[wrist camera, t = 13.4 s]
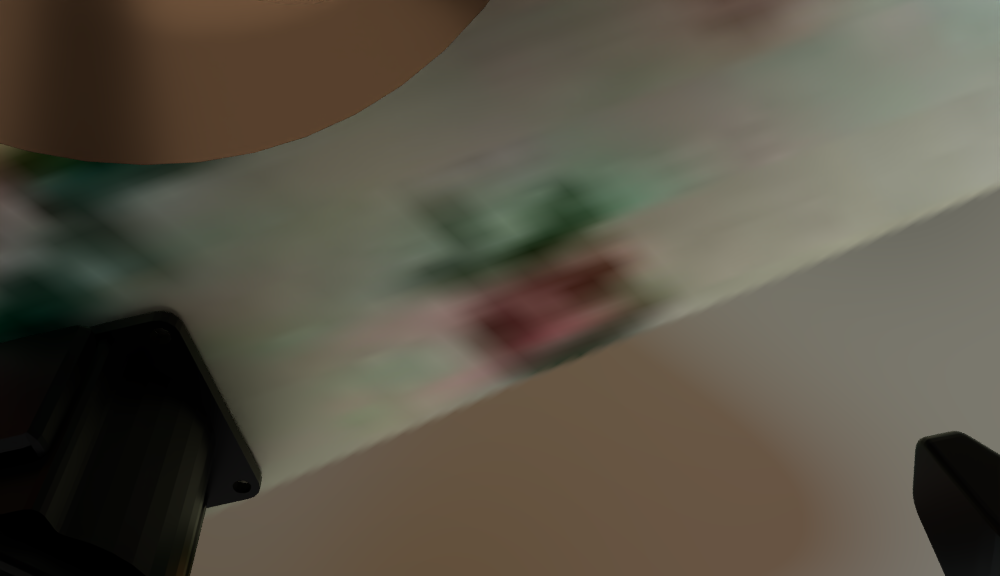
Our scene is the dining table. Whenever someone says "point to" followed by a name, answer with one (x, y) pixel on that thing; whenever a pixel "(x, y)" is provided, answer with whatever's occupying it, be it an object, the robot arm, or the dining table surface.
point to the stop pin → (204, 71)
